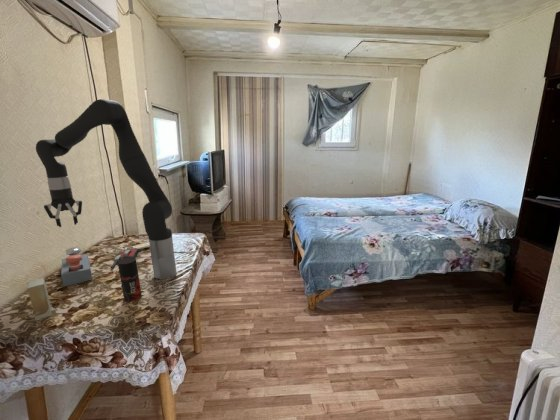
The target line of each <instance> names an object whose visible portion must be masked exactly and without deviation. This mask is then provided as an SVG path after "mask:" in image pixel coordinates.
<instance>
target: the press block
mask: <svg viewBox="0 0 560 420" xmlns="http://www.w3.org/2000/svg"><path fill="white" fill-rule="evenodd" d="M80 255H81V256H82V260H81V261H80V265H81V269H79V270H75V271H71V268H70V264H69V263H66V258H63V259H62V258H61V273H60V276H61V280H62V281H61V282H62V284H63V285H62V286H63V287H68V286H71V285H75V284H80V283H84V282H86V281H88V282H89V281H90V280H93V275H92V274H93V273H92V268H91V264H90V259H89V254H88V253H86V254H85V253H84V254H80Z"/></svg>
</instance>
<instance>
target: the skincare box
mask: <svg viewBox="0 0 560 420" xmlns="http://www.w3.org/2000/svg"><path fill="white" fill-rule="evenodd" d="M47 289H48V288H47V285H46V281H45V277H40V278H36V279H32V280H28V281H27V291H28V295H29V299H30V303H31V307H32V310H33V314H34V318H35V321H38V320H42V319H45V318H48V317H51V316H52V306H51V301H50V298H49V297H50V296H49V293H48V290H47Z"/></svg>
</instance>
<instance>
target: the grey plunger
mask: <svg viewBox="0 0 560 420" xmlns="http://www.w3.org/2000/svg"><path fill="white" fill-rule="evenodd" d="M81 252H82V249H81V246H75V247H70V248H68V249H67V248H66V249H65V254H66V256H68V257H69V256H72V255H80V253H81Z"/></svg>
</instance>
